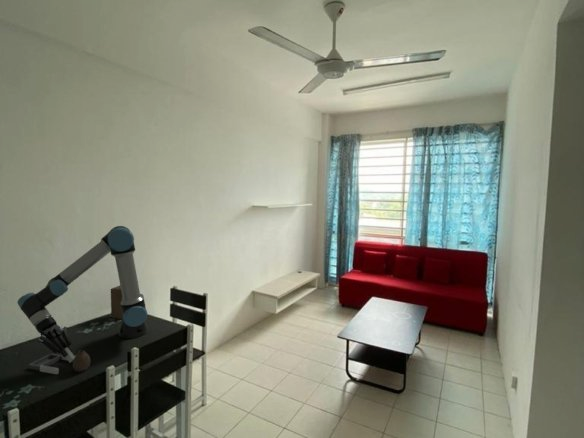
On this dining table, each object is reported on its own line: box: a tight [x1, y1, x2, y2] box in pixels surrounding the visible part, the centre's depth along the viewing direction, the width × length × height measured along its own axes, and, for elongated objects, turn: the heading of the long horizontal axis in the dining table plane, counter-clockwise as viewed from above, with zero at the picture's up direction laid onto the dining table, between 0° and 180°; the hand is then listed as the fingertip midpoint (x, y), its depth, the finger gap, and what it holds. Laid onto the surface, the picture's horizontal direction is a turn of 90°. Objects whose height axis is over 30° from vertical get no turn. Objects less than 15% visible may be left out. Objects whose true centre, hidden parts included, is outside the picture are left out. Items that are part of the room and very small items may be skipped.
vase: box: [72, 349, 91, 373], centre depth 148 cm, size 7×7×9 cm
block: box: [110, 285, 122, 320], centre depth 213 cm, size 10×10×20 cm
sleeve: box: [39, 356, 69, 375], centre depth 151 cm, size 10×12×2 cm
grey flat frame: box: [27, 353, 63, 372], centre depth 153 cm, size 7×11×2 cm, turn 167°
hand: (72, 360), depth 148 cm, fingers closed
